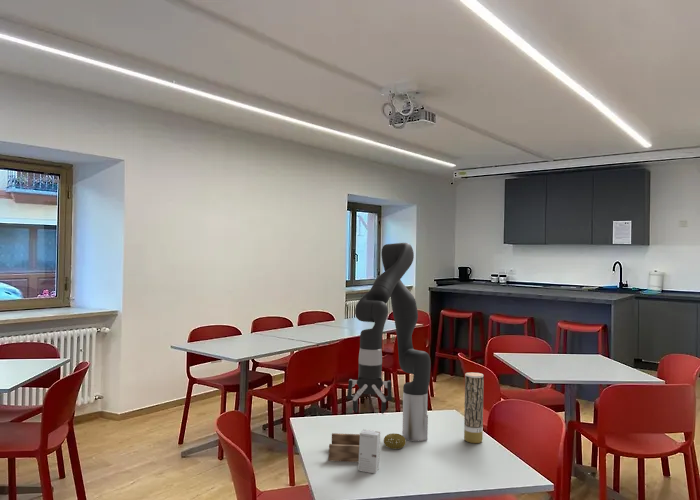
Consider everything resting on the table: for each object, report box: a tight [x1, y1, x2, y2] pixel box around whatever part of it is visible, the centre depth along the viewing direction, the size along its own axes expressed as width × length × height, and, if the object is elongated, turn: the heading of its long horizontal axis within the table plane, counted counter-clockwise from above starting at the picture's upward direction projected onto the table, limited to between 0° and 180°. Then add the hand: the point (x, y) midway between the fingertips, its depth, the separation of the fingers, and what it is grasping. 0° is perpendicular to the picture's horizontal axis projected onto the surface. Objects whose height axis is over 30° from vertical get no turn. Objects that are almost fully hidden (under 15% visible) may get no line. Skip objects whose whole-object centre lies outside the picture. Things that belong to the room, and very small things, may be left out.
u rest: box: [328, 432, 360, 463], centre depth 181 cm, size 13×12×5 cm
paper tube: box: [463, 372, 485, 444], centre depth 198 cm, size 7×7×25 cm
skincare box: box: [357, 428, 381, 474], centre depth 169 cm, size 6×4×12 cm
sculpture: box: [383, 433, 407, 450], centre depth 190 cm, size 8×4×8 cm
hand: (369, 412), depth 169 cm, fingers open, 8 cm apart
